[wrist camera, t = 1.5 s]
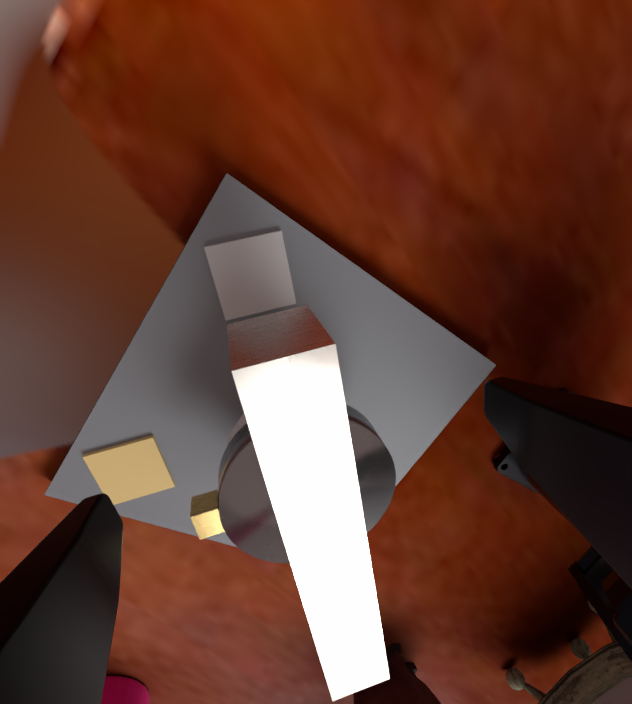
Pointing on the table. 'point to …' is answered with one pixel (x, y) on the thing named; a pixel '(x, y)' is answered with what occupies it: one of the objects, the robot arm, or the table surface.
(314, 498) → the handle
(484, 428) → the table surface
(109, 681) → the pepper mill
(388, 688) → the mate gourd
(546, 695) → the tabletop clock
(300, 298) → the base
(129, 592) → the table surface
